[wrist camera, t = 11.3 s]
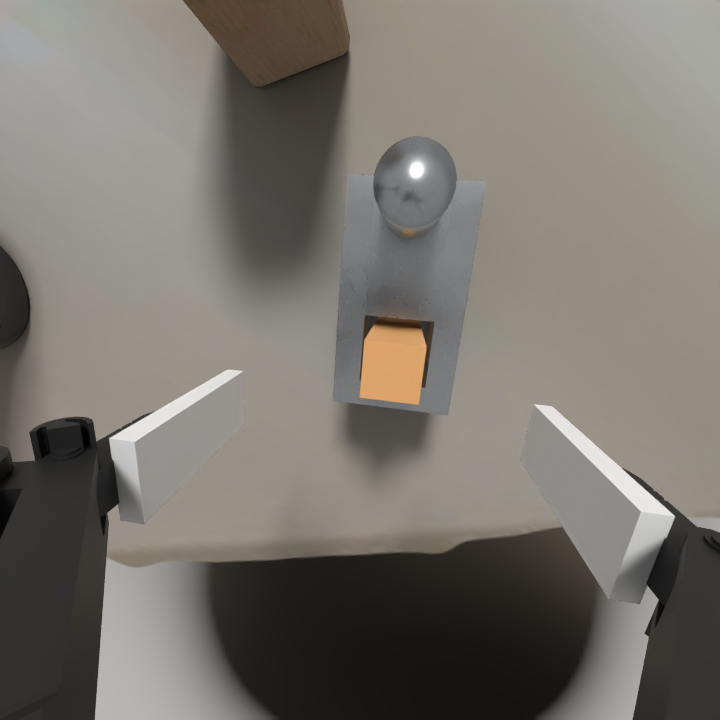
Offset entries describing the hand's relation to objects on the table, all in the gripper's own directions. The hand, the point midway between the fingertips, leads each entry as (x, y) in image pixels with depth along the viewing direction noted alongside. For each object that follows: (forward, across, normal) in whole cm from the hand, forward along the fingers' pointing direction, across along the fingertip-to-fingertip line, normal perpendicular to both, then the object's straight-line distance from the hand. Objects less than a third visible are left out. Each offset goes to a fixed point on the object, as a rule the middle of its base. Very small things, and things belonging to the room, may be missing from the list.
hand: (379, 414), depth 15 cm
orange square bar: (+21, +1, 0) cm, 21 cm away
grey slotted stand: (+22, +1, +4) cm, 22 cm away
